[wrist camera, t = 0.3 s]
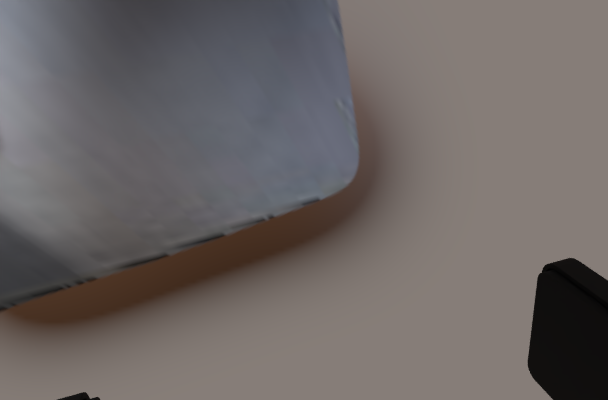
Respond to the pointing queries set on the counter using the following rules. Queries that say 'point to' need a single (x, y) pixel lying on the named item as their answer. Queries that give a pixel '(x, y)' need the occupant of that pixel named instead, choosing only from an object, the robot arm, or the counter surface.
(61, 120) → the counter surface
